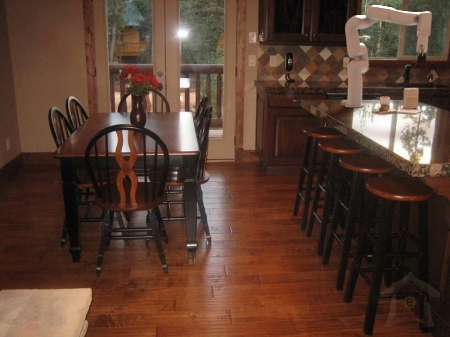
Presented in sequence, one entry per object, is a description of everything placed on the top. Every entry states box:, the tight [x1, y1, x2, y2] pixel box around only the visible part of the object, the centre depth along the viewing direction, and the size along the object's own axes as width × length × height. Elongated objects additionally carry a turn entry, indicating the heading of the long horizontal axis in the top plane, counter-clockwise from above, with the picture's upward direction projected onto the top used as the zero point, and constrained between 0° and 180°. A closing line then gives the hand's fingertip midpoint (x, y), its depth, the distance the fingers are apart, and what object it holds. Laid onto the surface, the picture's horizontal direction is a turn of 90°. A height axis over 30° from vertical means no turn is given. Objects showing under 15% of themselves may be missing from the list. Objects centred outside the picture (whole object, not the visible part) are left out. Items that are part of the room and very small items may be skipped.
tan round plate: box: [371, 104, 398, 115], centre depth 293 cm, size 15×15×5 cm
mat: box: [396, 108, 424, 115], centre depth 288 cm, size 12×12×1 cm
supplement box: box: [402, 87, 420, 110], centre depth 301 cm, size 8×5×13 cm, turn 84°
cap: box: [379, 96, 391, 106], centre depth 292 cm, size 6×6×5 cm
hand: (421, 62), depth 285 cm, fingers open, 9 cm apart
